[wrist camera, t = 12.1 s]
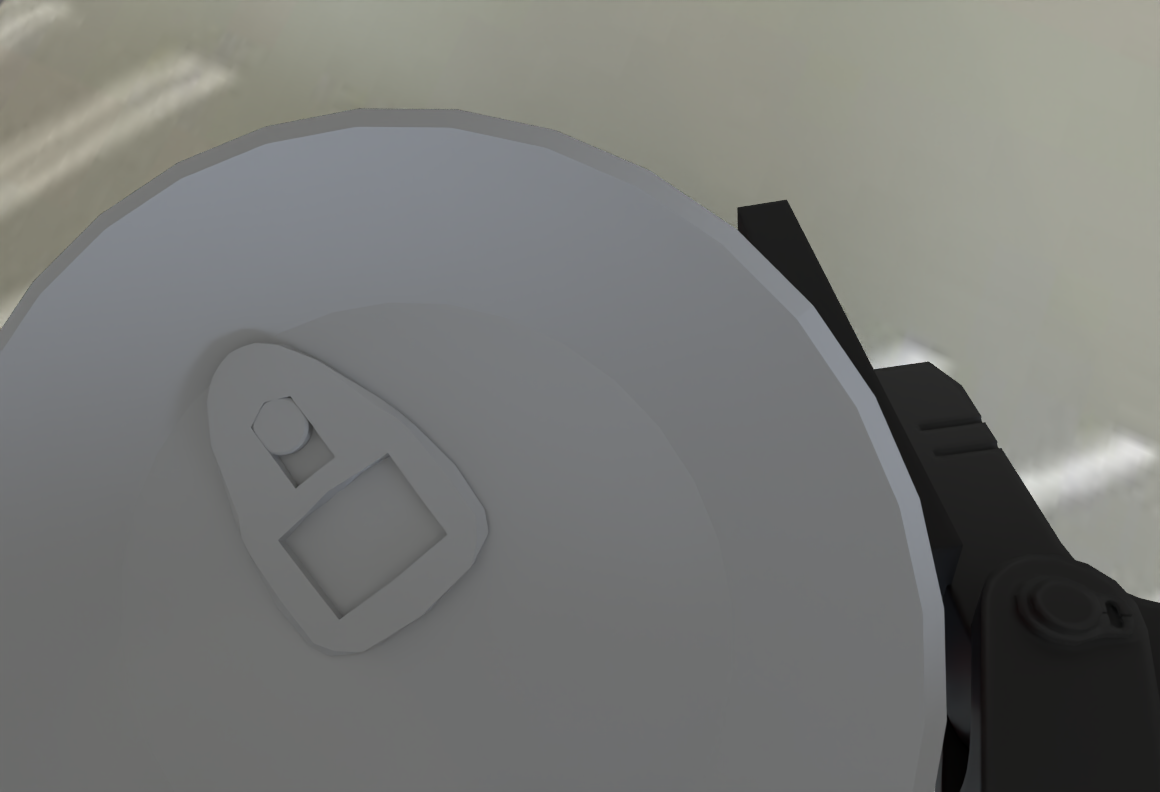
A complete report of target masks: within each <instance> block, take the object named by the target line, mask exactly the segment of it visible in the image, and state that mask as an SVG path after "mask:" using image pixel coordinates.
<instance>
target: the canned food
mask: <svg viewBox="0 0 1160 792" xmlns="http://www.w3.org/2000/svg"><path fill="white" fill-rule="evenodd" d="M946 723H947V708H946V666H945V623H944V606H943V601H942V597H941V592H940V588H939V583H938V579H937V574H936V570H935V565H934V561H933V556H932V552H931V547H930V543H929V538H928V534H927V529H926V525H925V520H924V516H923V511H922V507H921V502H920V498H919V496H918V494H917V492H916V489H915V487H914V485H913V482H912V480H911V478H910V475H909V473H908V471H907V469H906V466H905V464H904V462H903V459H902V457H901V455H900V452H899V450H898V448H897V445H896V443H895V441H894V439H893V436H892V434H891V432H890V429H889V427H888V425H887V422H886V420H885V418H884V416H883V413H882V411H881V409H880V406H879V404H878V402H877V399H876V397H875V395H874V394H873V393H872V391H871V390H870V388H869V387H868V385H867V384H866V382H865V381H864V379H863V378H862V376H861V375H860V374H859V372H858V371H857V369H856V368H855V366H854V365H853V363H852V362H851V360H850V359H849V357H848V356H847V354H846V353H845V352H844V350H843V349H842V347H841V346H840V344H839V343H838V341H837V340H836V338H835V337H834V335H833V334H832V332H831V331H830V330H829V328H828V327H827V325H826V324H825V322H824V321H823V319H822V318H821V316H820V315H819V313H818V312H817V310H816V309H815V308H814V306H813V305H812V304H811V303H810V302H809V301H808V300H807V299H806V298H805V297H804V296H803V295H802V294H801V293H800V292H799V291H798V290H797V289H796V288H795V287H794V286H793V285H792V284H791V283H790V282H789V281H788V280H787V279H786V278H785V277H784V276H783V275H782V274H781V273H780V272H779V271H778V270H777V269H776V268H775V267H774V266H773V265H772V264H771V263H770V262H769V261H768V260H767V259H766V258H765V257H764V256H763V255H762V254H761V253H760V252H759V251H758V250H757V249H756V248H755V247H754V246H753V245H752V244H751V243H750V242H749V241H748V240H747V239H746V238H745V237H744V236H743V235H742V234H741V233H740V232H739V231H738V230H737V229H735V228H734V227H732V226H731V225H730V224H728V223H727V222H725V221H724V220H722V219H721V218H719V217H718V216H716V215H715V214H713V213H712V212H710V211H709V210H707V209H706V208H704V207H703V206H701V205H700V204H698V203H697V202H695V201H694V200H693V199H691V198H690V197H688V196H687V195H685V194H684V193H682V192H681V191H679V190H678V189H676V188H675V187H673V186H672V185H670V184H669V183H667V182H666V181H664V180H663V179H661V178H660V177H659V176H657V175H656V174H654V173H653V172H651V171H650V170H647V169H645V168H643V167H640V166H638V165H636V164H633V163H631V162H629V161H626V160H624V159H622V158H619V157H617V156H615V155H612V154H610V153H608V152H605V151H603V150H600V149H598V148H596V147H593V146H591V145H589V144H586V143H584V142H582V141H579V140H577V139H575V138H572V137H570V136H568V135H565V134H563V133H561V132H558V131H556V130H552V129H547V128H543V127H538V126H533V125H528V124H524V123H519V122H514V121H509V120H505V119H500V118H495V117H490V116H486V115H481V114H476V113H472V112H467V111H462V110H457V109H362V108H359V109H354V110H349V111H344V112H339V113H333V114H328V115H323V116H318V117H313V118H307V119H302V120H297V121H292V122H286V123H281V124H276V125H271V126H266V127H263V128H261V129H258V130H256V131H253V132H251V133H249V134H246V135H244V136H241V137H239V138H236V139H234V140H231V141H229V142H227V143H224V144H222V145H219V146H217V147H214V148H212V149H210V150H207V151H205V152H202V153H200V154H197V155H195V156H193V157H190V158H188V159H185V160H183V161H180V162H178V163H176V164H175V165H174V166H172V167H171V168H169V169H168V170H166V171H165V172H163V173H162V174H160V175H159V176H157V177H156V178H154V179H153V180H151V181H150V182H148V183H147V184H145V185H144V186H142V187H141V188H139V189H138V190H136V191H135V192H133V193H132V194H130V195H129V196H127V197H126V198H124V199H123V200H121V201H120V202H118V203H117V204H115V205H114V206H112V207H111V208H109V209H108V210H106V211H105V212H103V213H102V214H100V215H99V216H98V217H97V218H96V219H95V220H94V221H93V222H92V223H91V224H90V225H89V226H88V227H87V228H86V229H85V230H84V231H83V232H82V233H81V234H80V235H79V236H78V237H77V238H76V239H75V240H74V241H73V242H72V243H71V244H70V245H69V246H68V247H67V248H66V249H65V250H64V251H63V252H62V253H61V254H60V255H59V256H58V257H57V258H56V259H55V260H54V261H53V262H52V263H51V264H50V265H49V266H48V267H47V268H46V269H45V270H44V271H43V272H42V273H41V274H40V275H39V276H38V277H37V278H36V279H35V280H34V281H33V282H32V284H31V285H30V287H29V288H28V290H27V291H26V293H25V294H24V296H23V297H22V299H21V300H20V302H19V303H18V305H17V306H16V308H15V309H14V311H13V312H12V314H11V315H10V317H9V318H8V320H7V321H6V323H5V324H4V326H3V327H2V329H1V330H0V792H934V790H935V784H936V778H937V773H938V767H939V762H940V756H941V751H942V745H943V739H944V734H945V728H946Z"/></svg>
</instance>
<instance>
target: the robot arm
mask: <svg viewBox="0 0 1160 792" xmlns="http://www.w3.org/2000/svg"><path fill="white" fill-rule="evenodd" d="M738 231H739V232H740V233H741V234H742V235H743V236H744V237H745V238H746V239H747V240H748V241H749V242H750V243H751V244H752V245H753V246H754V247H755V248H756V249H757V250H758V251H759V252H760V253H761V254H762V255H763V256H764V257H765V258H766V259H767V260H768V261H769V262H770V263H771V264H772V265H773V266H774V267H775V268H776V269H777V270H778V271H779V272H780V273H781V274H782V275H783V276H784V277H785V278H786V279H787V280H788V281H789V282H790V283H791V284H792V285H793V286H794V287H795V288H796V289H797V290H798V291H799V292H800V293H801V294H802V295H803V296H804V297H805V298H806V299H807V300H808V301H809V302H810V303H811V304H812V305H813V306H814V308H815V309H816V310H817V312H818V313H819V315H820V316H821V318H822V319H823V321H824V322H825V324H826V325H827V327H828V328H829V330H830V331H831V332H832V334H833V335H834V337H835V338H836V340H837V341H838V343H839V344H840V346H841V347H842V349H843V350H844V352H845V353H846V354H847V356H848V357H849V359H850V360H851V362H852V363H853V365H854V366H855V368H856V369H857V371H858V372H859V374H860V375H861V376H862V378H863V379H864V381H865V382H866V384H867V385H868V387H869V388H870V390H871V391H872V393H873V394H874V395H875V397H876V399H877V402H878V404H879V406H880V409H881V411H882V413H883V416H884V418H885V420H886V422H887V425H888V427H889V429H890V432H891V434H892V436H893V439H894V441H895V443H896V445H897V448H898V450H899V452H900V455H901V457H902V459H903V462H904V464H905V466H906V469H907V471H908V473H909V475H910V478H911V480H912V482H913V485H914V487H915V489H916V492H917V494H918V496H919V498H920V502H921V507H922V511H923V516H924V520H925V525H926V529H927V534H928V538H929V543H930V547H931V552H932V556H933V561H934V565H935V570H936V574H937V579H938V583H939V588H940V592H941V597H942V601H943V606H944V623H945V666H946V708H947V723H946V728H945V734H944V739H943V745H942V751H941V756H940V762H939V767H938V773H937V778H936V784H935V792H1160V603H1158V602H1154V601H1149V600H1145V599H1141V598H1138V597H1136V596H1133V595H1131V594H1128V593H1126V592H1125V591H1124V589H1123V588H1122V587H1121V586H1120V585H1119V584H1118V583H1117V582H1116V581H1115V580H1113V579H1111V578H1110V577H1108V576H1106V575H1105V574H1103V573H1102V572H1100V571H1098V570H1097V569H1095V568H1093V567H1092V566H1090V565H1088V564H1086V563H1083V562H1080V561H1076V560H1074V558H1073V557H1072V556H1071V555H1070V553H1069V552H1068V551H1067V550H1066V548H1065V547H1064V546H1063V545H1062V543H1061V542H1060V540H1059V539H1058V537H1057V536H1056V534H1055V532H1054V531H1053V529H1052V528H1051V526H1050V524H1049V523H1048V521H1047V520H1046V518H1045V517H1044V515H1043V513H1042V512H1041V510H1040V509H1039V507H1038V505H1037V504H1036V502H1035V501H1034V499H1033V498H1032V496H1031V494H1030V493H1029V491H1028V490H1027V488H1026V486H1025V485H1024V483H1023V482H1022V480H1021V479H1020V477H1019V475H1018V474H1017V472H1016V471H1015V469H1014V467H1013V466H1012V464H1011V463H1010V461H1009V459H1008V458H1007V456H1006V455H1005V453H1004V452H1003V450H1002V448H998V446H997V440H996V439H995V437H994V436H993V434H992V433H991V431H990V429H989V428H988V426H987V425H986V423H985V422H984V423H982V421H981V415H980V414H979V412H978V410H977V409H976V407H975V406H974V404H973V402H972V401H971V399H970V398H969V396H968V395H967V393H966V391H965V390H964V388H963V387H962V385H960V384H959V383H958V382H956V381H955V380H953V379H952V378H951V377H949V376H948V375H946V374H945V373H944V372H942V371H941V370H940V369H938V368H937V367H935V366H934V365H933V364H931V363H930V362H923V363H916V364H909V365H901V366H894V367H887V368H880V369H873V367H872V365H871V364H870V362H869V360H868V358H867V356H866V354H865V352H864V350H863V348H862V346H861V344H860V342H859V340H858V338H857V336H856V334H855V332H854V330H853V328H852V326H851V324H850V322H849V321H848V319H847V317H846V315H845V313H844V311H843V309H842V307H841V305H840V303H839V301H838V299H837V297H836V295H835V293H834V291H833V289H832V287H831V285H830V283H829V281H828V279H827V277H826V276H825V274H824V272H823V270H822V268H821V266H820V264H819V262H818V260H817V258H816V256H815V254H814V252H813V250H812V248H811V246H810V244H809V242H808V240H807V238H806V236H805V234H804V233H803V231H802V229H801V227H800V225H799V223H798V221H797V219H796V217H795V215H794V213H793V211H792V209H791V207H790V205H789V203H788V201H787V200H782V201H776V202H770V203H763V204H757V205H751V206H744V207H738Z"/></svg>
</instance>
